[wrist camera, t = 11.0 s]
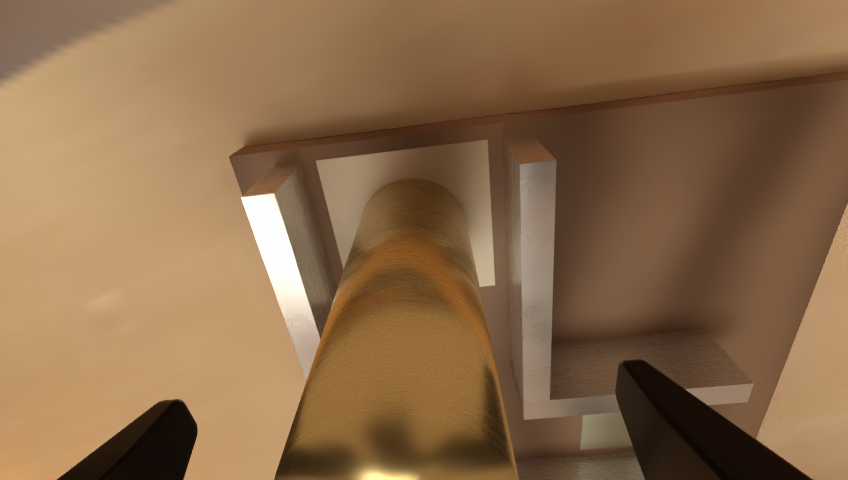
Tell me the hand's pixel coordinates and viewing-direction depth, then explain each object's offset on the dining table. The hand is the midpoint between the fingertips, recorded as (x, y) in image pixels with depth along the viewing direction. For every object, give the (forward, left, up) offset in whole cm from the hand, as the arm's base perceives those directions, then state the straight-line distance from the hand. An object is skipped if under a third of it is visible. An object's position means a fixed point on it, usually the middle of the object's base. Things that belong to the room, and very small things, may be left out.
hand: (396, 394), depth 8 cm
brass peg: (0, 0, -8) cm, 8 cm away
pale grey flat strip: (-5, +7, -9) cm, 12 cm away
